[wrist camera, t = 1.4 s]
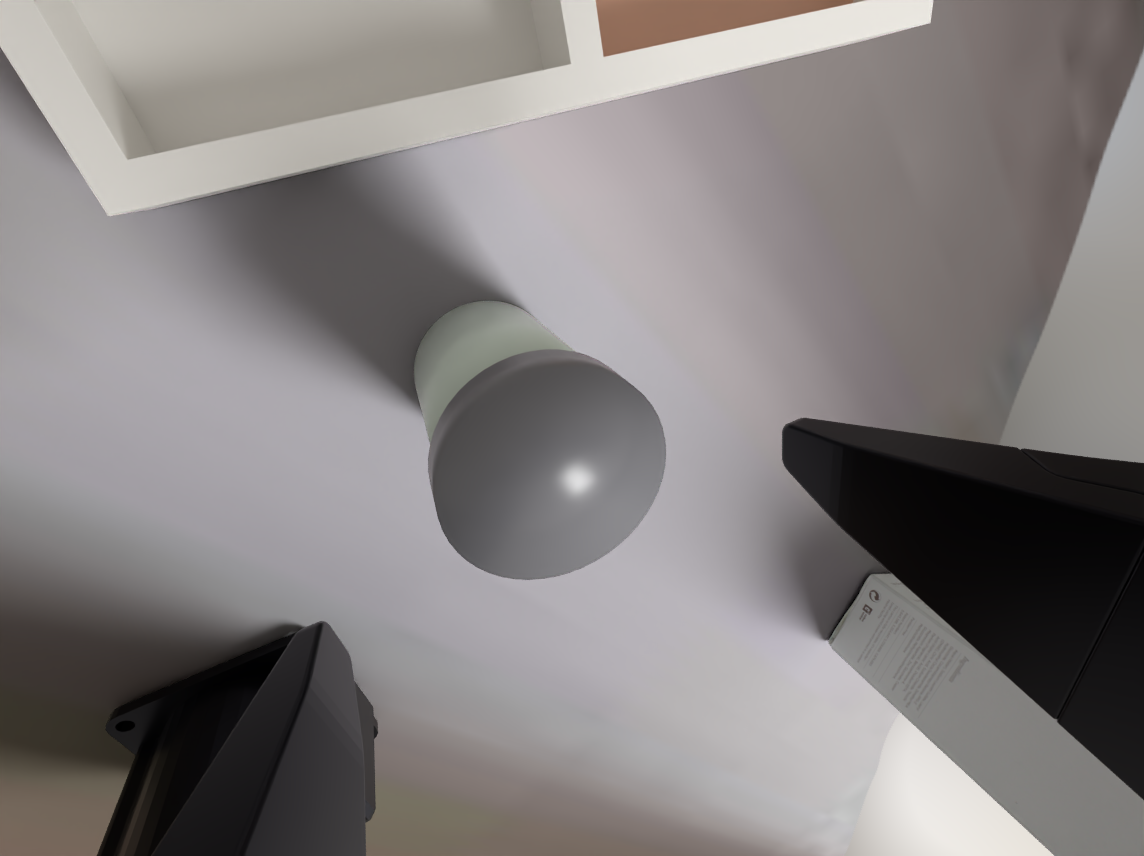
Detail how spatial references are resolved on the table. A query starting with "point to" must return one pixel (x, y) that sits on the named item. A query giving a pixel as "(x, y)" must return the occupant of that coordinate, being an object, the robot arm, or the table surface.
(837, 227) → the table surface
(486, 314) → the grey mushroom
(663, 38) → the sorting tray
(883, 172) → the table surface
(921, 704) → the skincare box
